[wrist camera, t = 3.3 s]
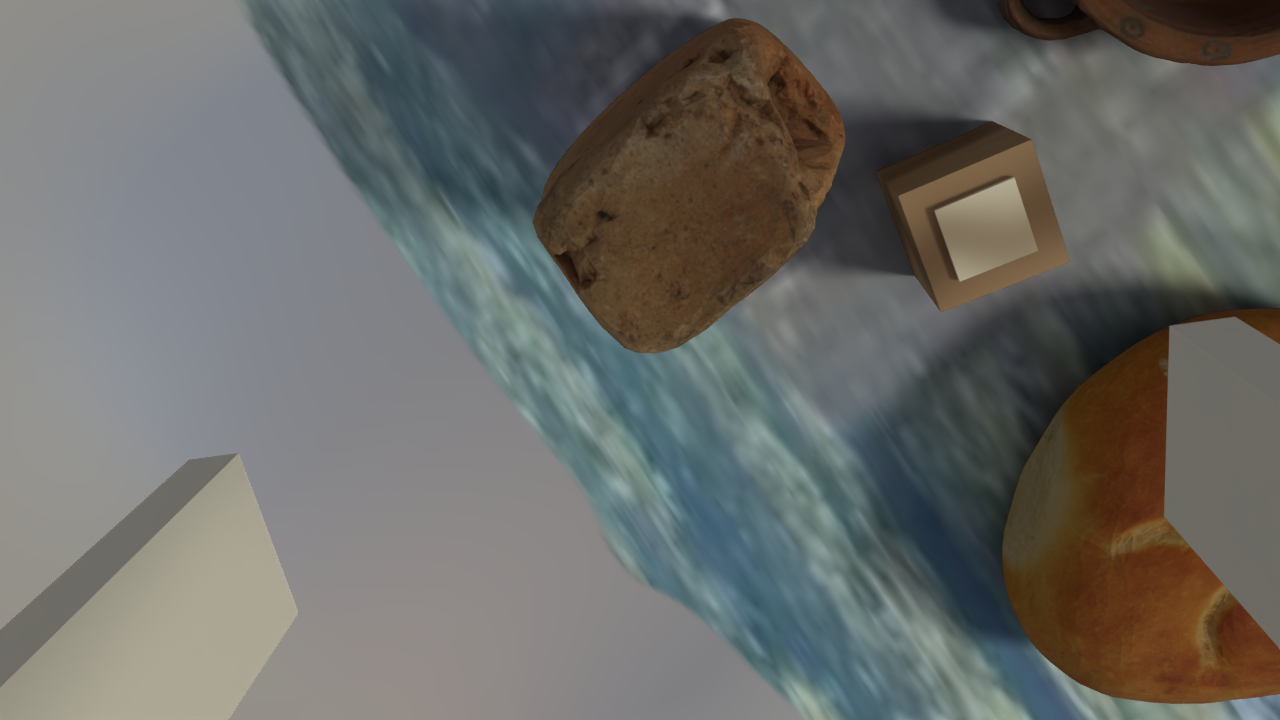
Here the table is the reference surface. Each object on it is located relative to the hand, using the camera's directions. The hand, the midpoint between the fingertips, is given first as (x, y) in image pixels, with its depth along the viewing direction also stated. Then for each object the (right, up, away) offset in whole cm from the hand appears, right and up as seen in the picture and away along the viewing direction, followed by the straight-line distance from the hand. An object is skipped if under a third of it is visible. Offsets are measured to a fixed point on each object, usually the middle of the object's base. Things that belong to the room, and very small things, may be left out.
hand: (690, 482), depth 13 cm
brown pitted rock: (+2, +14, +34) cm, 37 cm away
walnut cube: (+15, +10, +35) cm, 39 cm away
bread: (+30, -5, +40) cm, 50 cm away
